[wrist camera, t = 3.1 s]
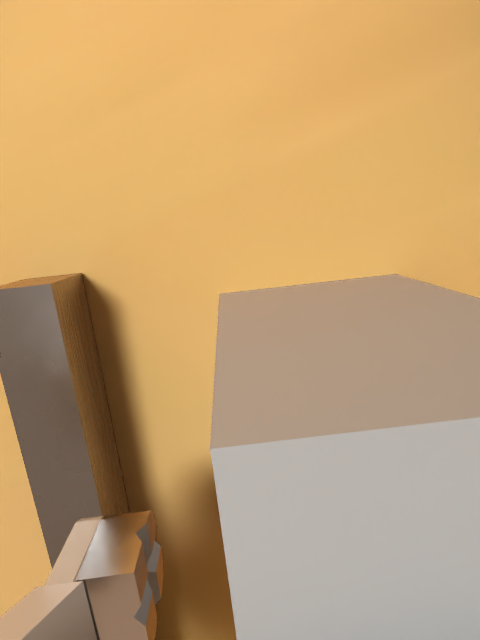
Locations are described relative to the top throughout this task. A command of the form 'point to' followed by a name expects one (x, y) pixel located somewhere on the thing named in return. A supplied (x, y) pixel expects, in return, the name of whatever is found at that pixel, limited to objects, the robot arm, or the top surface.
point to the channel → (59, 404)
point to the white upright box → (349, 460)
